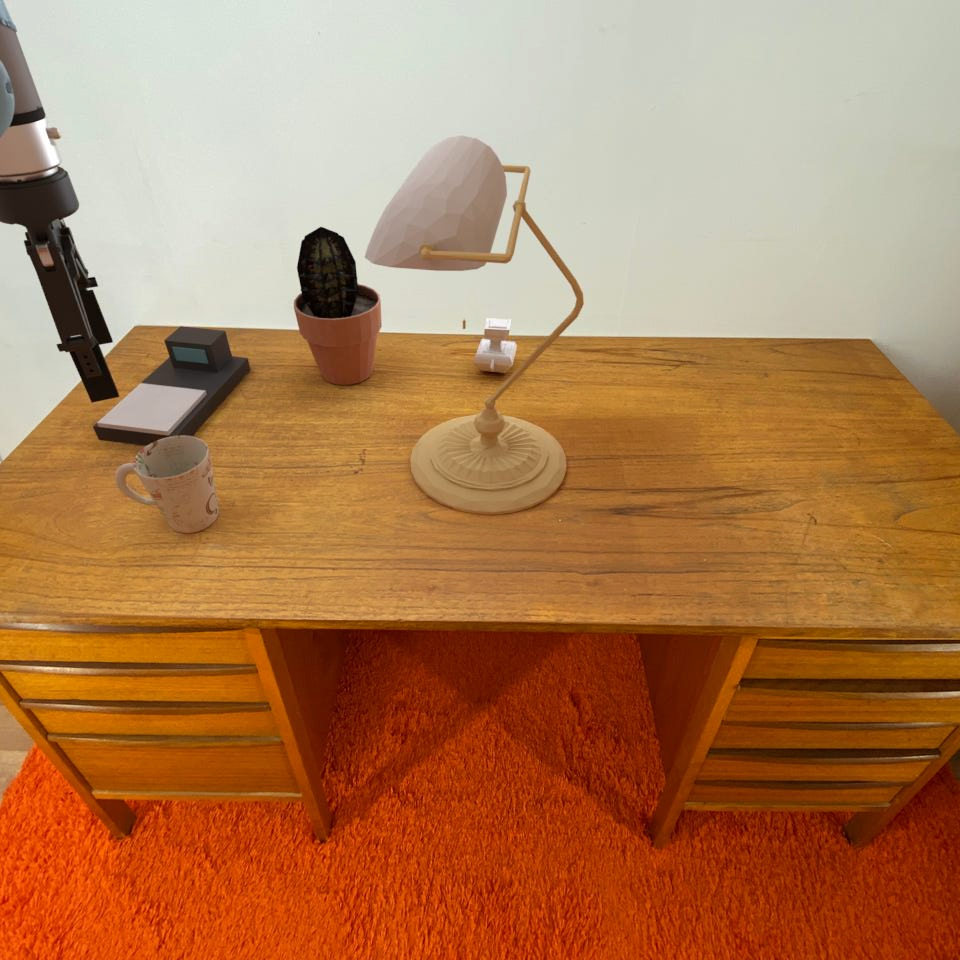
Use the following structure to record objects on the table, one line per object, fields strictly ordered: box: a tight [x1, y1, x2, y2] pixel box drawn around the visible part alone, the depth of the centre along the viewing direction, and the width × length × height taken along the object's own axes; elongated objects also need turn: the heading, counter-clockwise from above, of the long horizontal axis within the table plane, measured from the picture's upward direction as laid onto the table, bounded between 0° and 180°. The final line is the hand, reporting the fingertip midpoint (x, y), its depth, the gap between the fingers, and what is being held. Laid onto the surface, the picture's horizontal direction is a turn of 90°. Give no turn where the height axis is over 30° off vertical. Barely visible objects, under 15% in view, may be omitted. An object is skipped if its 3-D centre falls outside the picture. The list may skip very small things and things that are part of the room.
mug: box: [114, 435, 219, 534], centre depth 79 cm, size 8×13×10 cm, turn 89°
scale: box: [92, 325, 252, 447], centre depth 100 cm, size 23×13×7 cm, turn 170°
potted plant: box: [293, 226, 383, 386], centre depth 102 cm, size 14×14×25 cm
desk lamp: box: [364, 135, 585, 516], centre depth 79 cm, size 31×23×40 cm
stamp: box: [473, 317, 518, 374], centre depth 109 cm, size 9×7×8 cm
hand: (103, 369), depth 74 cm, fingers open, 13 cm apart
